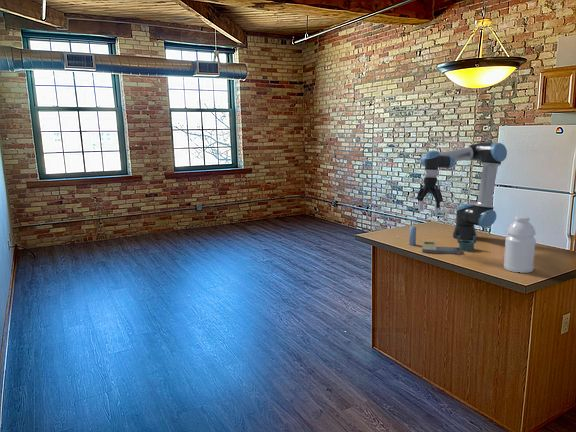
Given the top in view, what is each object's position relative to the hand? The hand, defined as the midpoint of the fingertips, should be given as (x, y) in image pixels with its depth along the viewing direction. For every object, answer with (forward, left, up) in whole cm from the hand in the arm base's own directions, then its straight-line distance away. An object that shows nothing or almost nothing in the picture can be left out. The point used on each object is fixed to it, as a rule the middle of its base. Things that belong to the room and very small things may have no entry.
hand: (428, 212), depth 254 cm
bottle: (-45, +25, -25) cm, 57 cm away
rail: (-8, -2, -25) cm, 26 cm away
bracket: (-23, -10, -25) cm, 35 cm away
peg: (+9, -15, -25) cm, 30 cm away
